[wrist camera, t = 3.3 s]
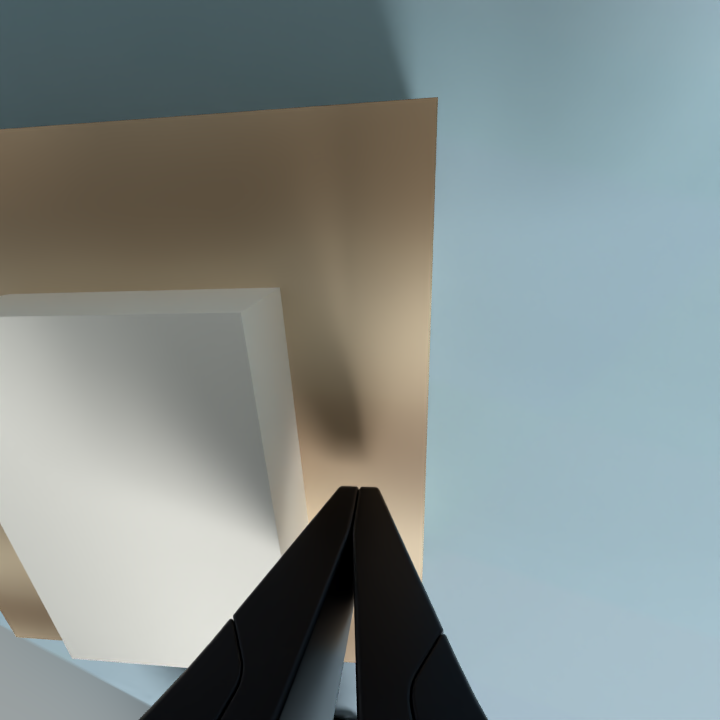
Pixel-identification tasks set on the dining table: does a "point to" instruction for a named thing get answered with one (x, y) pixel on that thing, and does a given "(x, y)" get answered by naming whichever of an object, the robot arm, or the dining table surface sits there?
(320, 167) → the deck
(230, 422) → the white box
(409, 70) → the dining table surface
